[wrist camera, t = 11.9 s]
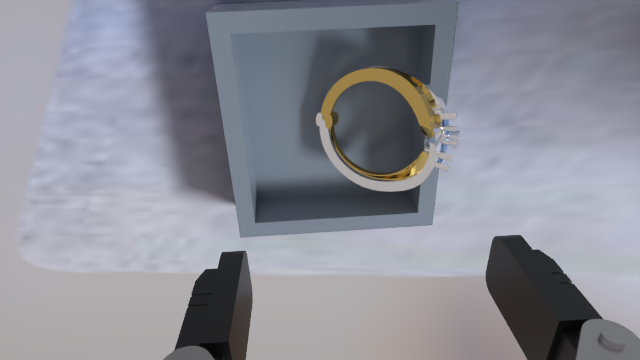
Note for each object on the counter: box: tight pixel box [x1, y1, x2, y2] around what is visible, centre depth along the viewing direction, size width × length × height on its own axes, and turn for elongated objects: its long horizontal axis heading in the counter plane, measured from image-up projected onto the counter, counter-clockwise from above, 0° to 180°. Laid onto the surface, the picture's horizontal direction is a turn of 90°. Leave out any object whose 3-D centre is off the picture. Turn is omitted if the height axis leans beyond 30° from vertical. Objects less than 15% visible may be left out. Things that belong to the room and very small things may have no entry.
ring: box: [316, 66, 460, 192], centre depth 23 cm, size 7×3×8 cm
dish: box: [206, 0, 458, 237], centre depth 24 cm, size 12×13×4 cm
